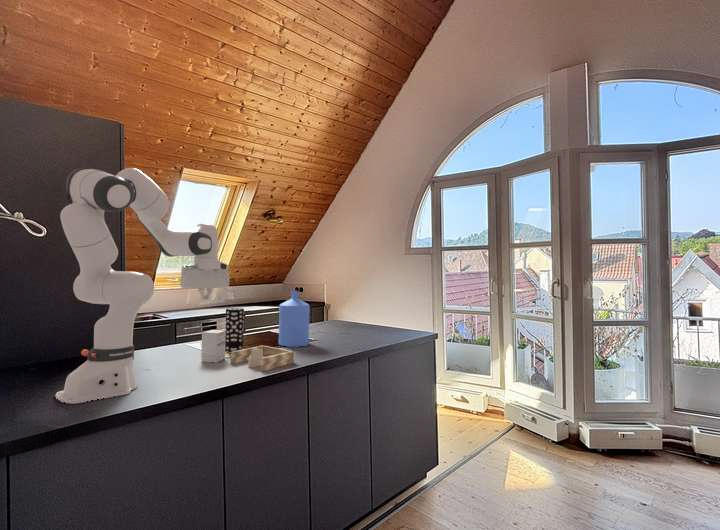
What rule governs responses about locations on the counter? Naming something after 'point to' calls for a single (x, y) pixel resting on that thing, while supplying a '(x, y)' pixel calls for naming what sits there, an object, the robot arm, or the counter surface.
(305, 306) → the water jug
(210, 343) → the supplement box
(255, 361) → the architectural model
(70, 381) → the robot arm
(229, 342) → the white-spotted black cylinder
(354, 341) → the counter surface
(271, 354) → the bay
